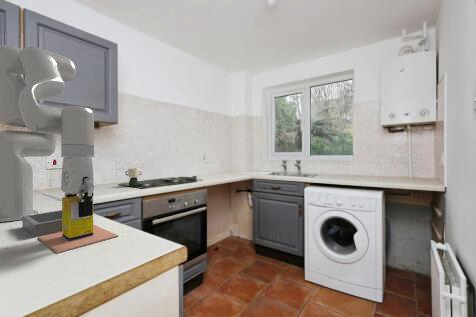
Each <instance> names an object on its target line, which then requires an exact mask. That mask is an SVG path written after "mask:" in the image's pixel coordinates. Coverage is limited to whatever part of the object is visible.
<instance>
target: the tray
mask: <svg viewBox="0 0 476 317" xmlns="http://www.w3.org/2000/svg"><path fill="white" fill-rule="evenodd" d="M21 224H22V228H23V229H24V230H25V231H27V232H28V233H29V234H30V235H32V236H33V237H34V238H38V237H40V236H45V235H49V234H54V233H58V232H62V209H59V210H54V211H48V212H47V211H46V212H41V213H38V214H33V215H27V216H22V223H21Z"/></svg>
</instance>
